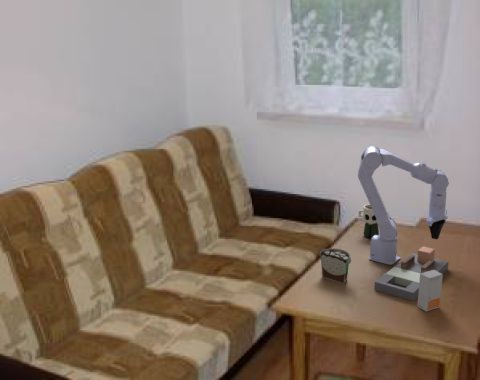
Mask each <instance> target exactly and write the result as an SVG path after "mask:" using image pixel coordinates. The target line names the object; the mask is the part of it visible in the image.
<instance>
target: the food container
mask: <svg viewBox="0 0 480 380" xmlns="http://www.w3.org/2000/svg"><path fill="white" fill-rule="evenodd" d="M318 256H320V264H321V277H322V278H325V279H327V280H330V281H334V282H336V283H338V284H343V285H345V284H347V282H348V276H349V275H348V274H349V265H350V264H351V263H352V259H351V254H350V253H349V252H348V251H346V250H344V249H341V248H325V249H321V250H320V252H319V255H318Z"/></svg>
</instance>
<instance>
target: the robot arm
mask: <svg viewBox="0 0 480 380" xmlns="http://www.w3.org/2000/svg"><path fill="white" fill-rule="evenodd" d="M388 165H389V166H393V167H395V168H398V169H401V170H403V171H406V172H409V173H410V176H411V177H412V178H414V179H416V180H417V181H421V182H423V183H425V184H428V185H430V191H429V202H428V203H429V204H428V205H429V206H428V214H427V219H426V220H425V226H428V228H429V231H430V237H431V240H432V239H433V240H439V238H440V234H441V231H442V230H443V227H444V225H445V223H446V222H447V221H446V220H448V218H449V217H448V216H447V213H448V212H447V211H448V210H447V209H446V205H447V204H446V203H447V190H448V189H447V188H448V186H450V185H449V183H450V182H449V179H448V177H447V175H446V173H445V172H444V171H442V170H441V169H438V168H432V167H430V166H427V164H426V163H425V162H417V163H413V162H410V161H409V160H406V159H404V158H402V157H400V156H398V155H396V154H394V153H392V152H390V151H388V150H386V149H383V148H379V147H378V146H374V145H369V146H368V147H366V148H365V149H364V151H363V152H362V154H361V156H360V161H359V167H358V171H357V177H358V180H359V182H360V185H361V187H362V189H363V191H364V194H365V196H366V198H367V200H368V202H369V204H370V205H371V207H372V210H373V212H374V214H375V217H376V219H377V222H378V223H377V224H378V229H379V235H374V236H373V237H372V238H371V239H370V243H369V244H370V245H369V247H370V248H369V249H370V250H369V257H368V260H370V261H374V262H377V263H380V264H385V265H388V266H389V265H390V266H392V265H394V264H395V263H397V262H398V261H399V260H400V259H401V258H402V257H401V256H398V255H397V252H398V251H397V250H398V249H397V248H398V230H397V223H396V221H395V219H393V218H392V217H391V215H390V213H389V212H388V211H387V208H386V206H385V204H384V201H383V199H382V197H381V194H380V192H379V189H378V188H377V185H376V182H375V181H374V178H373V175H374V173H375V171H376V170H377V169H378V168H380V166H382V167H383V168H384V167H386V166H388Z"/></svg>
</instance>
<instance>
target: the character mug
mask: <svg viewBox="0 0 480 380" xmlns="http://www.w3.org/2000/svg"><path fill="white" fill-rule="evenodd" d="M362 213H363V214H362ZM358 217H359V218H362V219H363V221H364V222H365V224H364V228H363V236H364V237H367V238H371V239H372V237H373V236H374V235H379V233H380V229H379V225H378V222H377V219H376V217H375V214H374V212H373V210H372V207H371V205H370V203H369V204H364V205H363V208H362V209H359V210H358Z"/></svg>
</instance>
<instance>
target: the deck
mask: <svg viewBox="0 0 480 380" xmlns="http://www.w3.org/2000/svg"><path fill="white" fill-rule="evenodd" d="M410 255H415V261H414V263H412V264H411V265H410V266H409V267H407V268H406V269H401V262H402V261H403V260H405V259H406V258H407V257H408V256H410ZM408 256H407V257H405V258H404V259H403V260H401V261H400V262H398V263H397V264H396V265H394V266H393V267H392V268H391V269H389V270H388V271H387V272H386V273H384V274H383V275H381V276H380V277H379V278H378V279H376V280H374V290H375V291H376V292H377V291H378V292H381V293H385V294H389V295H390V296H391V295H392V296H395V297H398V298H402V299H404V300H408V301H411V302H413V301H415V300H416V299H418V294H419V281H420V274H421V267H422V266H423V265H424V264H425V263H421V262H417V257H418V253H414V252H412V253H410V254H409V255H408ZM434 260H435V262H434V267H433V268H432V269H431V270H435V271H437V272H439V273H441V274H443V275H444V274H445V273H446V272H447V271H448V270H449V261H446V260H442V259H437V258H435V257H434ZM431 270H430V271H431Z"/></svg>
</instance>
